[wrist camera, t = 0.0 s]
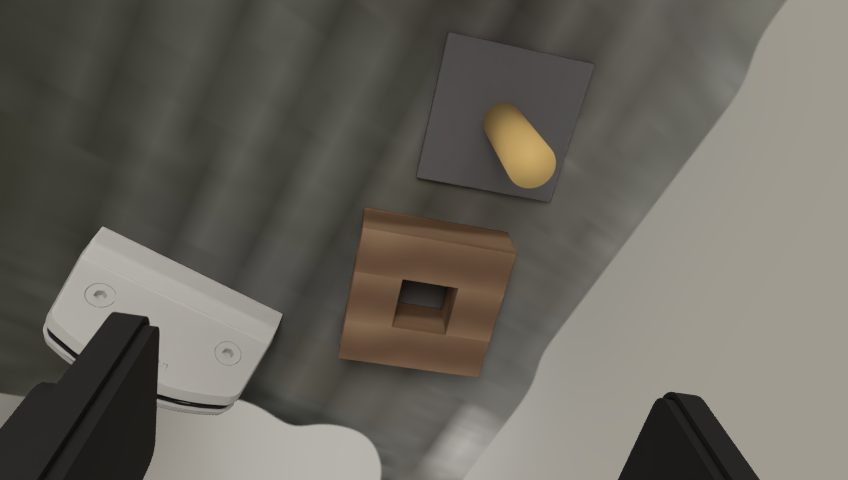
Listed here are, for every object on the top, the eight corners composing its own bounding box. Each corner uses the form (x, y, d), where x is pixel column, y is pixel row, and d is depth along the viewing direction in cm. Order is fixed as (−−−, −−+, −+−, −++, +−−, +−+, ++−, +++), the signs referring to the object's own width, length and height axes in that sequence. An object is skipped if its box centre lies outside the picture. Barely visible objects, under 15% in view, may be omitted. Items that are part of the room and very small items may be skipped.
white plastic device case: (287, 316, 53) (247, 417, 46) (266, 341, 56) (226, 440, 49) (97, 223, 48) (19, 319, 41) (86, 257, 51) (11, 352, 44)
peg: (488, 99, 45) (514, 136, 36) (527, 107, 46) (562, 146, 37) (478, 138, 46) (501, 183, 37) (516, 145, 47) (547, 192, 38)
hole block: (364, 207, 49) (363, 227, 45) (507, 232, 51) (516, 254, 47) (341, 330, 54) (338, 358, 50) (472, 350, 56) (478, 377, 52)
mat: (448, 31, 44) (448, 32, 43) (592, 63, 45) (594, 64, 45) (416, 174, 48) (416, 177, 48) (548, 199, 50) (550, 202, 49)
